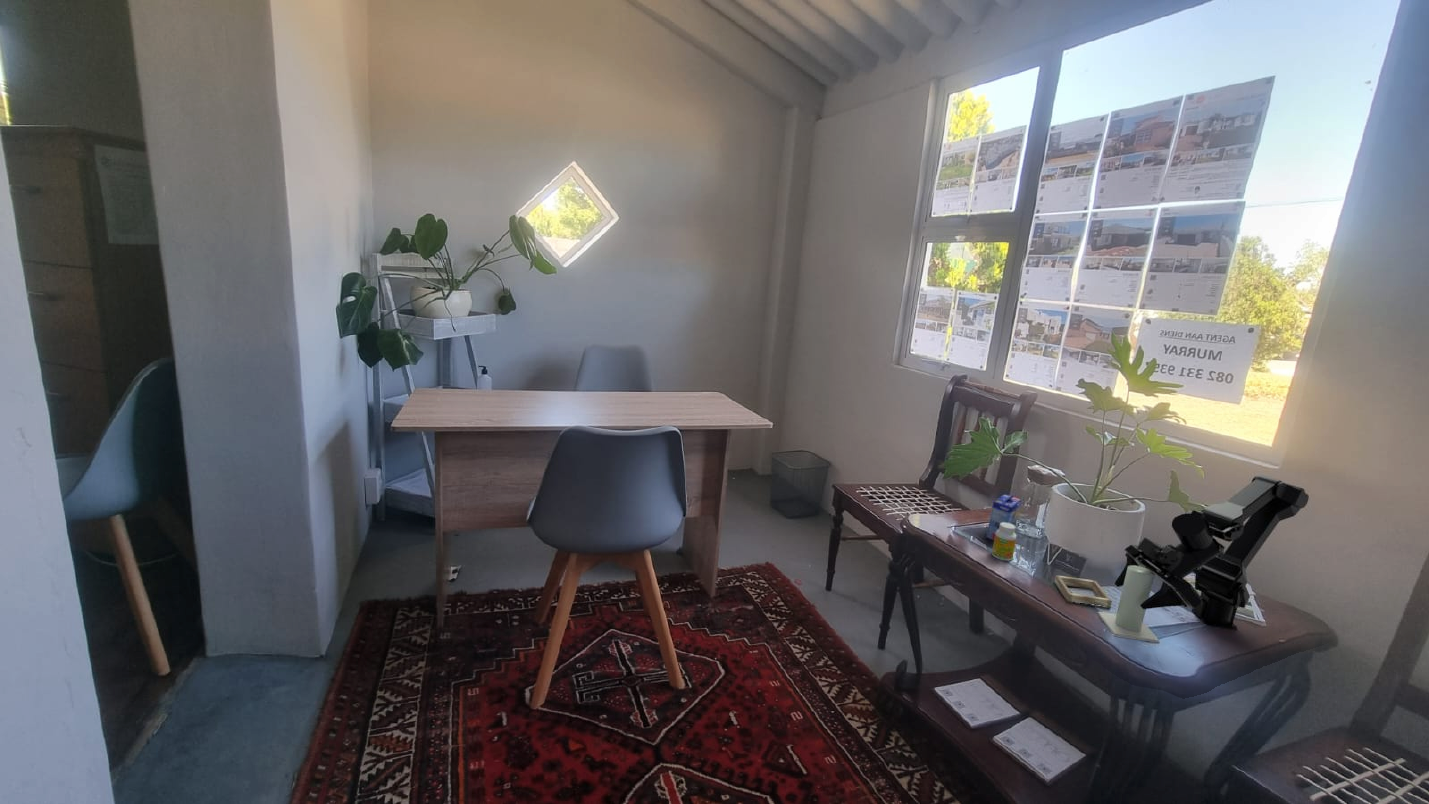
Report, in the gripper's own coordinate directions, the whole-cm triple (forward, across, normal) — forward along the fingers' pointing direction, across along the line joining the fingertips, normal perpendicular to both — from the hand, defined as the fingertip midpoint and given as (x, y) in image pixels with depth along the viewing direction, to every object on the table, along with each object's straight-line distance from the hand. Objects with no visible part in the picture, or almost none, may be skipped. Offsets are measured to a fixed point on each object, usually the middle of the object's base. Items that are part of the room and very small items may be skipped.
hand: (1128, 595), depth 133 cm
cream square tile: (+5, 0, +7) cm, 8 cm away
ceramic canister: (+4, 0, +6) cm, 8 cm away
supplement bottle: (+16, -32, -4) cm, 36 cm away
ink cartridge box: (+12, -45, 0) cm, 47 cm away
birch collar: (+7, -14, +5) cm, 16 cm away
